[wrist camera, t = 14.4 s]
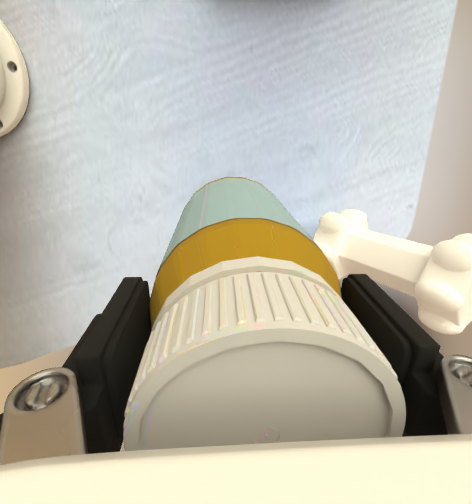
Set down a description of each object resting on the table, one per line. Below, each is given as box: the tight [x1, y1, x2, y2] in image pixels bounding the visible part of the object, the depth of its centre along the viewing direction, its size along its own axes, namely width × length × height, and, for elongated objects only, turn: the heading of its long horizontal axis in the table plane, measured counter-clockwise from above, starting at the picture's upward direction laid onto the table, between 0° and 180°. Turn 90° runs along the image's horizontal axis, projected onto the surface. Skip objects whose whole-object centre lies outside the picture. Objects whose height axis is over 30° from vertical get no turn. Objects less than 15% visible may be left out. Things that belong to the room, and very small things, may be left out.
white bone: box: [313, 209, 472, 334], centre depth 29 cm, size 15×9×8 cm
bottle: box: [123, 177, 406, 451], centre depth 13 cm, size 7×7×15 cm
